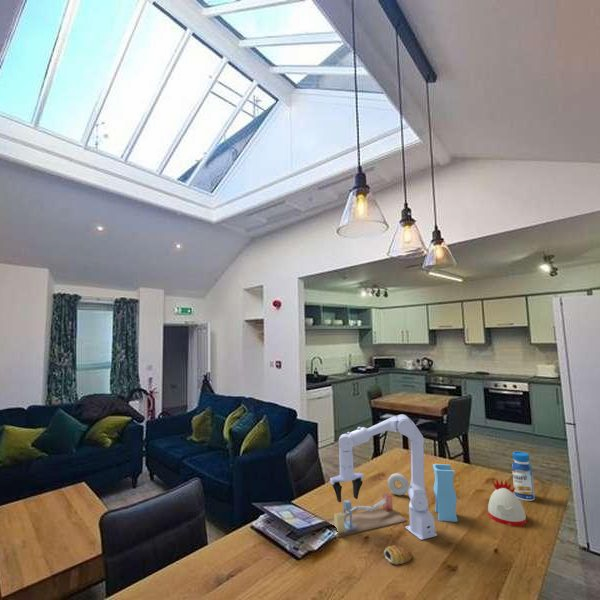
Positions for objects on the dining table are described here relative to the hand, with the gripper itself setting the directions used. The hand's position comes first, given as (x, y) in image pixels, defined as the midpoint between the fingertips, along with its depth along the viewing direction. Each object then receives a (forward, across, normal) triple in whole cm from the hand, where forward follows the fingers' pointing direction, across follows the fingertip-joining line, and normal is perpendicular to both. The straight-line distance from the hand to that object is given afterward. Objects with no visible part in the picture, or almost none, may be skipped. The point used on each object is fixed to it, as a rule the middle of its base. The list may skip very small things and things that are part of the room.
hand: (347, 499), depth 141 cm
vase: (+11, -42, +9) cm, 45 cm away
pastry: (+11, -6, +24) cm, 27 cm away
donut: (+11, -36, -16) cm, 41 cm away
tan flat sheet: (+10, -8, -1) cm, 13 cm away
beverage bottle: (+11, -89, +9) cm, 90 cm away
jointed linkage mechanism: (+10, -8, -1) cm, 13 cm away
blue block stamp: (+10, +1, +1) cm, 10 cm away
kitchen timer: (+11, -65, +19) cm, 69 cm away
